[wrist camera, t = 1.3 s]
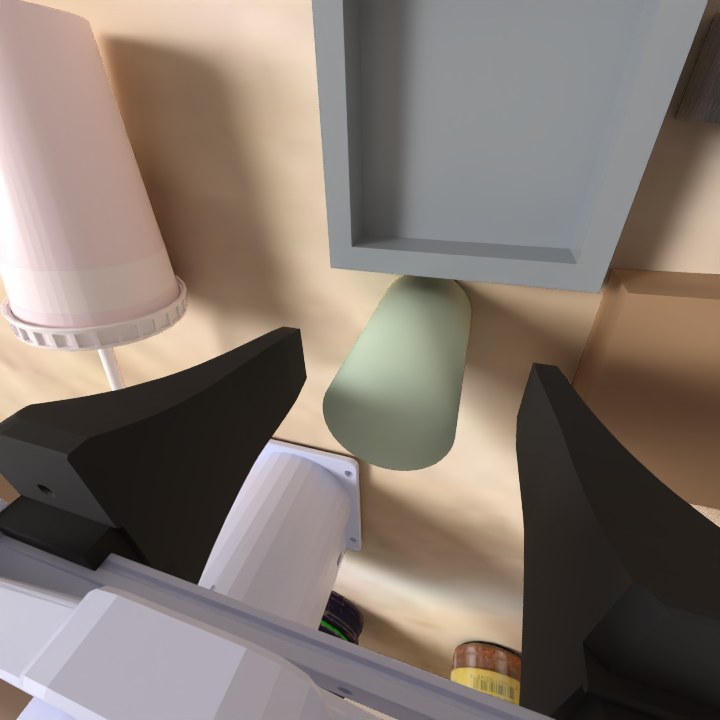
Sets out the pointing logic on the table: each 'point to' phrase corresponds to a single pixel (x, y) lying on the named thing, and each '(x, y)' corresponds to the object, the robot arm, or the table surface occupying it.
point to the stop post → (704, 81)
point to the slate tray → (491, 131)
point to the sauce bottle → (488, 670)
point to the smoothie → (73, 198)
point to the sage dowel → (404, 377)
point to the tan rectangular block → (660, 375)
